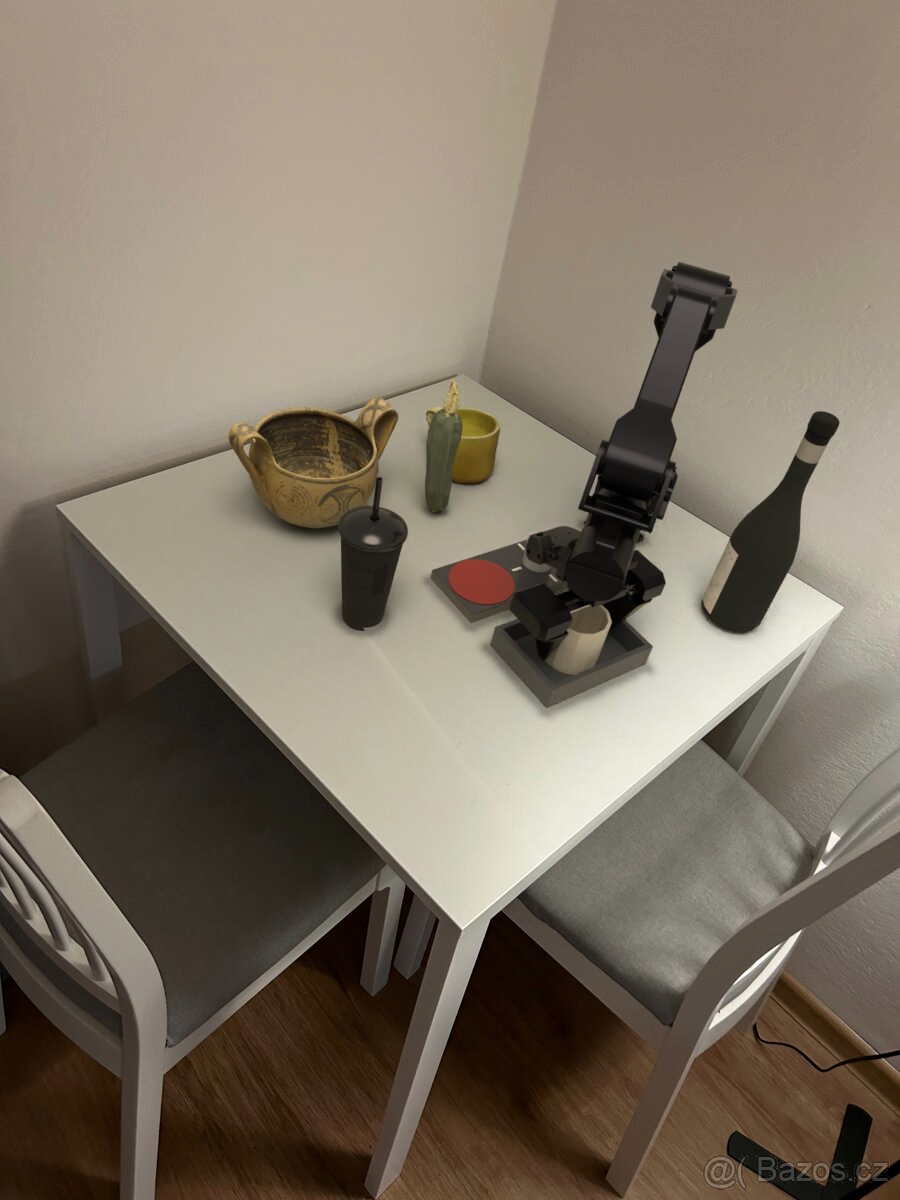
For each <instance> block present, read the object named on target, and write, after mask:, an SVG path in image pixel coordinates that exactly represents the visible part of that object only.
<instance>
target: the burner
mask: <svg viewBox="0 0 900 1200" xmlns="http://www.w3.org/2000/svg"><path fill="white" fill-rule="evenodd" d="M464 560H465V559H464ZM461 561H462V560H461ZM448 580H449V584H450V586H451V588H452V589H453V590H454V591H455V592H456V593H457V594H458V595H459V596H461V597H462V598H464V599H466V600H468V601H470V602H474V603H477V604H484V605H491V604H498V603H501V602H503V601H505V600H507V599H508V598H510V596H511V595H512V594H513V592H514V587H515V585H514V580H513V578H512V577H511V575H510V574H509V573H508V572H507V571H506V570H505V569H504V568H502V567H501V566H499V565H497V564H495V563H492V562H489V561H486V560H479V559H471V560H465V561H462V562H459V563H457V564H456V565H454V566H453V567H452V568H451V570H450V572H449V576H448Z"/></svg>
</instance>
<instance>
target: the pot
mask: <svg viewBox="0 0 900 1200" xmlns="http://www.w3.org/2000/svg"><path fill="white" fill-rule="evenodd" d="M571 617H572V622H571V625H570V627H569V628H568V629H567V630H566V631H567V632H568V633H569V634H568V635H567V636H566V638H565V639H564V640H563V641H562V642H561V643H560V645H559V646H558V647H557V648H556V649H555V651H554V652H553V653H552V654H551V655H550V656H549V657H548V658H547V659H546V662H547V663H548V664H549V665H550V666H552V667H553V668H554V669H556V670H558V671H560V672H563V673H566V674H572V675H576V674H578V673H580V672H583V671H585V670H587V669H590V668H592V667H594V666H595V664H596V662H597V660H598V658H599V655H600V652H601V650H602V647H603V645H604V642H605V639H606V637H607V634H608V631H609V629H610V626H611V623H612V621H611V618H610V614H609V612H608V610H606V609H605V608H604V607H603V606H602V605H599V606H596V607H594V608H593V607H592V606H589V607H586V608H583V609H581V610H578V611H576V612H573V613H571Z"/></svg>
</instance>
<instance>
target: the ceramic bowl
mask: <svg viewBox="0 0 900 1200" xmlns="http://www.w3.org/2000/svg"><path fill="white" fill-rule="evenodd" d="M358 414H359V415H358V416H357V418H356V420H354V419H353V418H350V417H348V416H346V415H343V414H341V413H339V412H335V411H330V410H327V409H324V408H316V407H291V408H284V409H280V410H278V411H274V412H272V413H269V414H267V415H266V416H265V417H263V418H262V419H260V421H258V422H257V424H256V425H255V427H254V426H252V425H250V424H249V423H246V422H238V423H235V424H233V425H232V427H231V428H230V429H229V432H228V437H227V439H228V442H229V445H230V447H231V448H232V450H233V452H234V453H235V455H236V456H237V458H238V460H239V462H240V463H241V464H242V466H243V468H244V470H245V471H246V472H247V473H248V475H249V479H250V481H251V483H252V485H253V488H254V490H255V492H256V494H257V496H258V497H259V499H260V500H261V502H262V503H263V504H264V505H265V506H266V507H267V508H268V510H270V511H271V513H273V514H274V515H275V516H277V517H278V518H279V519H281V520H283V521H285V522H286V523H289V524H291V525H295V526H298V527H302V528H308V529H324V528H330V527H333V526H338V524H339V520H340V518H341V516H342V515H343V514H344V513H345V512H347V511H349V510H351V509H353V508H356V507H361V506H366V504H367V503H368V501H369V500H370V498H371V496H372V495H373V493H374V491H375V485H376V478H377V477H378V475H379V469H380V468H379V461H380V459H381V457H382V456H383V453H384V451H385V449H386V447H387V444H388V442H389V441H390V438H391V436H392V434H393V432H394V430H395V428H396V426H397V423H398V421H399V413H398V412H397V410H396V409H395V408H394V407H393V406H392V405H391V404H390V403H389V402H388V401H387V400H386V399H385V398H383V397H381V396H375V397H372V398H371V399H370V400H368V402H367V403H366V404H365V405H364V407H363V408H362V410H361V411H360V413H358ZM249 440H250V444H249V450H248V455H247V453H246V451H245V449H244V448H245V447H244V446H245V445H246V443H247V442H249Z"/></svg>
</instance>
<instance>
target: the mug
mask: <svg viewBox="0 0 900 1200" xmlns="http://www.w3.org/2000/svg"><path fill="white" fill-rule="evenodd" d="M441 409H444V407H442V406H439V405H438V406H434V407H431V408H429V409H427V410H426V412H425V418H426V419H425V420H426V422H427V425H428V426H429V425H430V422H431V420H432V418H433V416H434V415H435V414H436V413H437V412H438V411H439V410H441ZM456 413H458V415H459V416H460V418H461V420H462V425H463V428H462V436H461V440H460V443H459V446H458V449H457V452H456V456H455V459H454V462H453V468H452V482H454V483H456V484H462V485H465V484H478V483H480V482H482V481H486V480H487V479H488V478H489V477H490V476H491V475H492V474H493V472H494V469H495V463H496V454H497V449H498V446H499V438H500V434H501V425H500V423H499V421H498V420H497V418H495V417H494V416H493V415H492V414H490V413H489V412H486V411H484V410H480V409H476V408H471V407H460V408H459V410H458V411H457V412H456Z"/></svg>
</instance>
